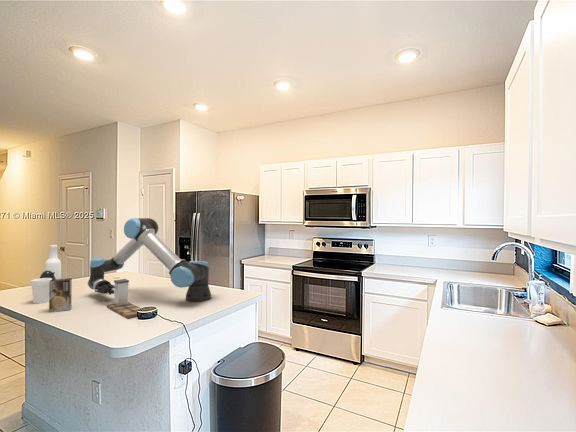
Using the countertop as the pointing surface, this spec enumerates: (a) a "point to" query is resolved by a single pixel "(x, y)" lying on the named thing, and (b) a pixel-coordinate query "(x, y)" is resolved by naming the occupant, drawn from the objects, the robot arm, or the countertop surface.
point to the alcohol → (53, 262)
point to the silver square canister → (121, 292)
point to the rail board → (125, 310)
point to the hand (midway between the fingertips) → (117, 292)
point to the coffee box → (60, 294)
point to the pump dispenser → (48, 275)
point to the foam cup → (40, 290)
